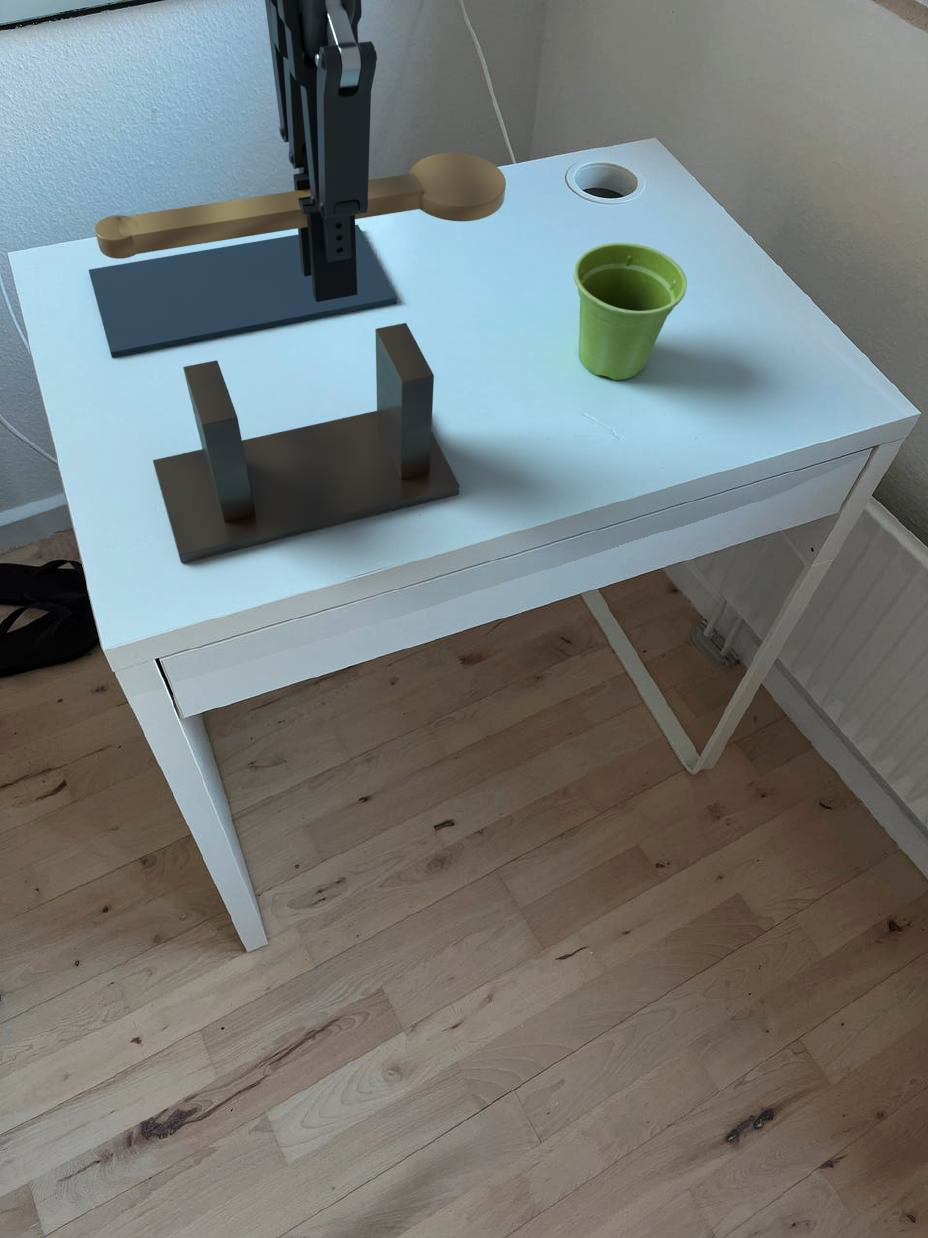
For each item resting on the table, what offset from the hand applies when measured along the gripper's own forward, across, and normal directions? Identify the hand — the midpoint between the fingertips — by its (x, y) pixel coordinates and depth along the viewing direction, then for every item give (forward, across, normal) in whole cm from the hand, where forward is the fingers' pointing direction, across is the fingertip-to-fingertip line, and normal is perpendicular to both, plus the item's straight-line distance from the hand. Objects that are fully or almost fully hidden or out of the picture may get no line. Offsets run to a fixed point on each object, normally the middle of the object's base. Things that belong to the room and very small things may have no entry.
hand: (329, 281), depth 60 cm
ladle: (-5, 0, +1) cm, 5 cm away
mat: (+18, +25, +2) cm, 31 cm away
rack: (+18, 0, +3) cm, 18 cm away
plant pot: (+18, +6, -27) cm, 33 cm away
